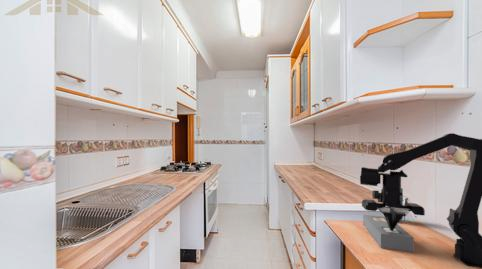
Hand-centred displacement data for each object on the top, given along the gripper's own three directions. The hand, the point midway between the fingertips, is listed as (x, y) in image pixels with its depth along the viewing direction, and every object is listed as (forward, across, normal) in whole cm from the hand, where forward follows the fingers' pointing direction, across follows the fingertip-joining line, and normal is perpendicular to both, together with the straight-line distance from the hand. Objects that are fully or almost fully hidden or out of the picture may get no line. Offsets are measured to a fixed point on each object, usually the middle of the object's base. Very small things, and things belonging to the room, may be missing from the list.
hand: (391, 230), depth 83 cm
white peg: (+5, 0, 0) cm, 5 cm away
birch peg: (+5, 0, -12) cm, 13 cm away
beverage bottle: (+5, -12, -29) cm, 32 cm away
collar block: (+5, 0, -6) cm, 8 cm away
